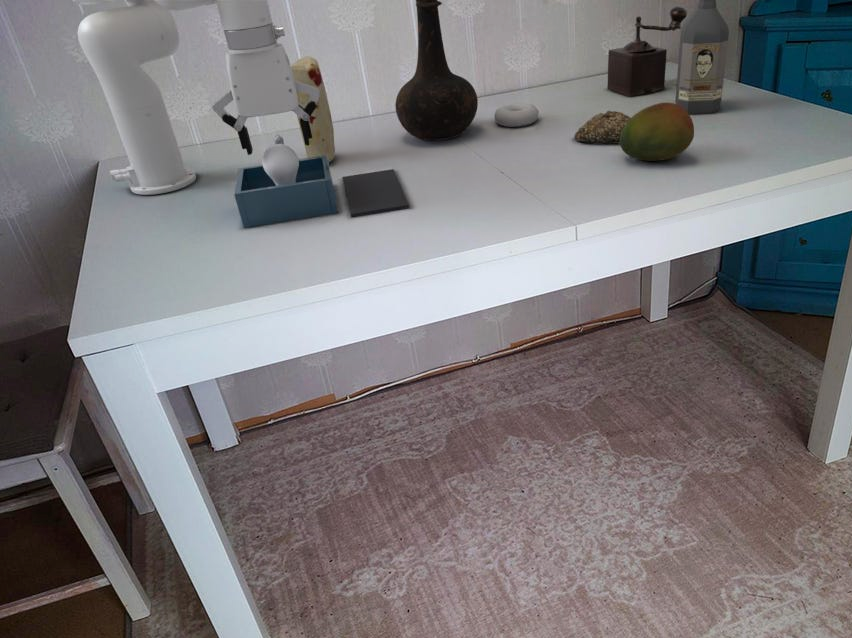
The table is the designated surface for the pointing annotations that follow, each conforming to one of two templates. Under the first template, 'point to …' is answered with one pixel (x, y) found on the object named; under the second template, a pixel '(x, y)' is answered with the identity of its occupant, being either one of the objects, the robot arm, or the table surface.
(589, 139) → the bread roll
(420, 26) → the dark brown vase
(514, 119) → the donut
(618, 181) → the table surface
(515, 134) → the table surface
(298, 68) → the food model
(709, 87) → the liquor
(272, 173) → the lightbulb
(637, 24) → the manual coffee grinder
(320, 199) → the sink
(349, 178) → the mat
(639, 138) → the fruit
